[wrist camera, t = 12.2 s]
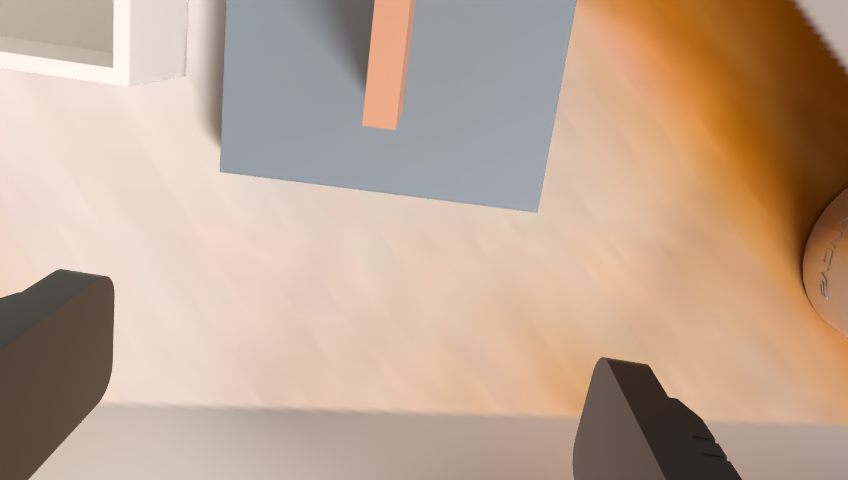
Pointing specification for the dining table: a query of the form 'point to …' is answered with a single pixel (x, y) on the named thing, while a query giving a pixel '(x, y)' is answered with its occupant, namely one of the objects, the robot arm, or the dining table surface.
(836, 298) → the robot arm
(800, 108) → the dining table surface
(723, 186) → the dining table surface
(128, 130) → the dining table surface
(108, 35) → the box
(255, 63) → the lid
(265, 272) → the dining table surface
